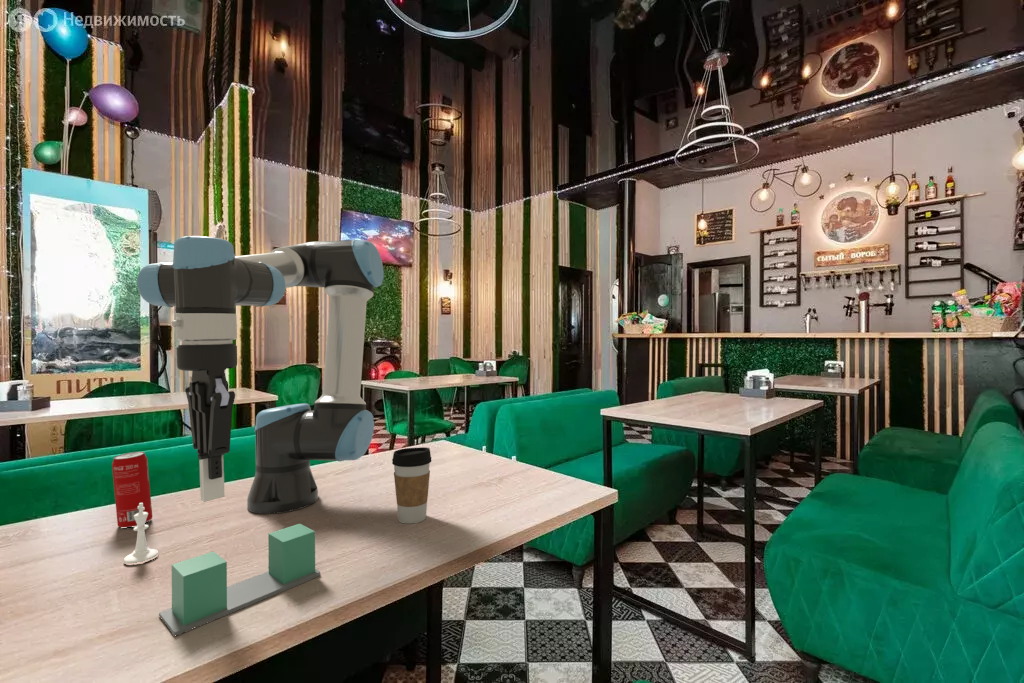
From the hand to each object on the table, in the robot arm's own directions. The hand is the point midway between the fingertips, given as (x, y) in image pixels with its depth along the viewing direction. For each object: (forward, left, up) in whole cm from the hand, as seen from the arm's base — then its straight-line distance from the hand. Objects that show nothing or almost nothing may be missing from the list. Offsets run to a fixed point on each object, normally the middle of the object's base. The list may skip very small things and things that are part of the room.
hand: (212, 498), depth 69 cm
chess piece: (-24, -4, -15) cm, 28 cm away
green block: (+3, -3, -14) cm, 15 cm away
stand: (+3, +3, -15) cm, 16 cm away
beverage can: (-45, -1, -15) cm, 47 cm away
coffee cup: (-1, +38, -15) cm, 41 cm away
